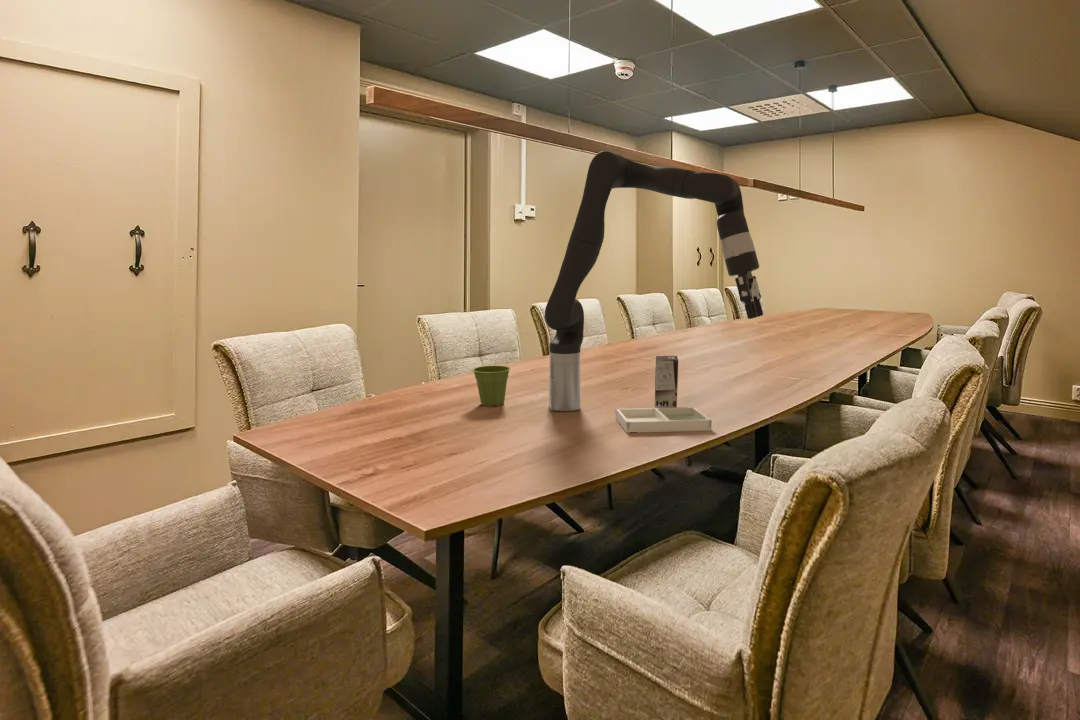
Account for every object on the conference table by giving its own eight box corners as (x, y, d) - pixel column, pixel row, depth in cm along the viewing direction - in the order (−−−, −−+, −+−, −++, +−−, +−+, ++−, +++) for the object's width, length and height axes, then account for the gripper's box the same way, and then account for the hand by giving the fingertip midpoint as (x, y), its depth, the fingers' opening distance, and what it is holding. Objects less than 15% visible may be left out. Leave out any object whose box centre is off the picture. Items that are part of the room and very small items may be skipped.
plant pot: (478, 399, 199) (477, 365, 197) (514, 400, 197) (513, 365, 195) (468, 407, 187) (468, 371, 185) (507, 409, 186) (506, 372, 184)
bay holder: (626, 432, 159) (626, 422, 158) (615, 418, 173) (615, 408, 173) (711, 430, 161) (711, 420, 160) (693, 416, 175) (693, 406, 174)
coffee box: (676, 415, 176) (678, 360, 173) (654, 414, 177) (655, 359, 175) (676, 408, 185) (678, 355, 182) (654, 407, 186) (655, 354, 184)
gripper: (730, 259, 161) (746, 319, 161) (718, 257, 148) (735, 322, 148) (759, 250, 157) (775, 312, 157) (749, 248, 145) (766, 314, 144)
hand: (756, 317), depth 153 cm, fingers open, 8 cm apart
